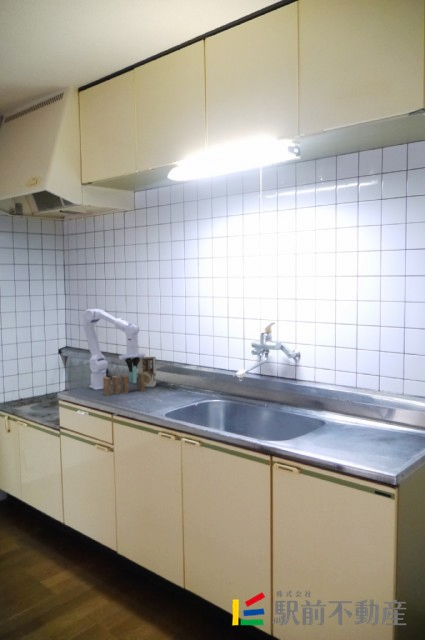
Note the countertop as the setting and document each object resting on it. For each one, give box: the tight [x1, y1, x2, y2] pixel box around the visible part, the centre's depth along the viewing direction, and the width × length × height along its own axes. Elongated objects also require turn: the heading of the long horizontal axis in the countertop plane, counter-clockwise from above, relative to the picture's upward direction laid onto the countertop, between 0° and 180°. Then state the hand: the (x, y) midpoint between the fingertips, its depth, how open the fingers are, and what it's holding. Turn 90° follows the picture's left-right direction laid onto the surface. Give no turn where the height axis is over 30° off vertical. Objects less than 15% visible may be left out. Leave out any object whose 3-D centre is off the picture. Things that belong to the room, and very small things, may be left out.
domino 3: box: [120, 374, 129, 394], centre depth 272 cm, size 2×5×9 cm, turn 34°
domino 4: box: [128, 364, 138, 384], centre depth 275 cm, size 2×5×9 cm, turn 36°
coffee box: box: [137, 356, 157, 388], centre depth 289 cm, size 9×6×16 cm
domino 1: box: [102, 376, 112, 396], centre depth 266 cm, size 2×5×9 cm, turn 34°
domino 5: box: [137, 373, 146, 392], centre depth 278 cm, size 2×5×9 cm, turn 34°
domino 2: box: [111, 375, 121, 395], centre depth 269 cm, size 2×5×9 cm, turn 34°
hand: (132, 371), depth 275 cm, fingers closed on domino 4, 2 cm apart
